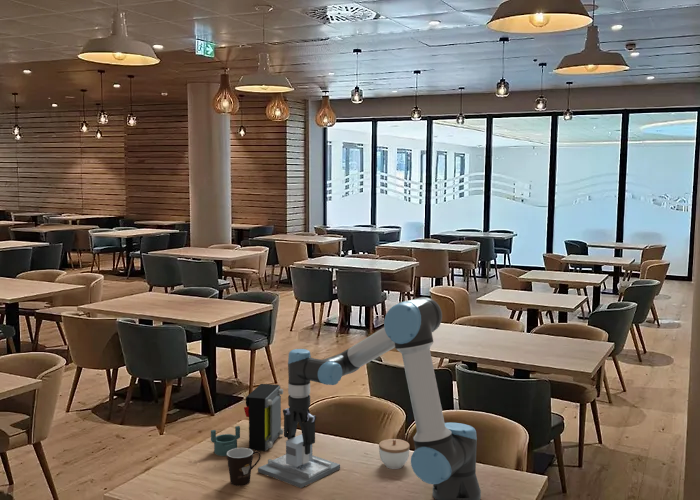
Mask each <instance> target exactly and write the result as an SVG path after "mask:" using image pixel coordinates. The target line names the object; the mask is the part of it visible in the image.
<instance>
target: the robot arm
mask: <svg viewBox="0 0 700 500" xmlns="http://www.w3.org/2000/svg"><path fill="white" fill-rule="evenodd" d="M442 320H443V312H442V309H441V307H440V305H439V304H438V302H437V301H436V300H434V299H432V298H430V297H425V296H421V297H416V298H414V299H409V300H405V301H402V302H399V303H397V304H395V305H393V306H391V307H390V308H389V309H388V310H387V312H386V313H385V317H384V319H383V324H384V325H383V327H382V328H380V329H379V330H377V331H376V332H374V333H372V334H371V335H369V336H367V337H366V338H364V339H362V340H361V341H359V342H357V343H355V344H354V345H352V346H350V347H349V348H347V349H346V350H343V351H342V352H341V353H340V352H339V353H338V354H335V355H333V356H330V357H326V358H323V359H319V358H314V357H312V355H311V351H310V350H308V349H306V348H295V349H292V350H290V351H288V360H287V374H288V383H287V384H288V385H287V387H288V388H287V389H288V390H287V392H288V393H287V394H288V398H287V400H288V402H287V405H288V407H287V408H285V409H282V414H283V437H284V438H287V440H289V439H291V438H294V437H296V436H297V435H296V433H297V429H298V426H299V427H300V431H301V434H302V437H303V442H304V444H303V445H302V464H305V463H307V462H309V454H310V445H311V444H312V445H314V444H315V443H316V420H317V415H315V414H314V415H313V414H311V413H310V406H311V395H310V394H311V382H314V383H319V384H323V385H326V386H329V385H330V386H335V385H337V384H339V381H341V379H342V377H343V376H347V375H350V374H352V373H355V372H357V371H358V370H359V369H360V368H362V367H363V366H364V365H367V364H368V363H370V362H372V361H373V360H376V359H377V358H380V356H383V355H385V354H386V353H388V352H389V351H391V350H393V349H395V350H397V352H399V353H401V357H402V361H403V367H404V371H405V378H406V383H407V388H408V392H409V396H410V402H411V407H412V412H413V417H414V421H415V428H416V433H415V435H414V436H413V443H414V450H413V453H412V455H411V457H410V466H411V469H412V471H413V472H414V474H415V476H416V477H418V479H420V480H421V481H422V482H424V483H426V484H429V485H433V486H432V497H433V498H434V499H435V500H481V498H482V497H481V496H482V492H481V491H482V490H481V488H480V485H479V480H478V477H477V474H476V470H477V443H478V442H477V440H478V438H477V431H476V429H475V427H473V426H472V425H469V424H465V423H460V422H445V419H444V414H443V408H442V404H441V398H440V394H439V388H438V383H437V379H436V374H435V368H434V363H433V358H432V353H431V346H432V345H433V343H434V336H433V333H434V332H435V331H437V329H438V328H439V327H440V325H441V323H442Z"/></svg>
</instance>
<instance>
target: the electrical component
mask: <svg viewBox="0 0 700 500" xmlns="http://www.w3.org/2000/svg"><path fill="white" fill-rule="evenodd" d="M283 394H284V389H283V388H281V385H280V384H270V383H260V384H259V385H258V386H257V387H255V388H254V389H253V390H252V391H251V392H250V393H249V394H248V395H246V397H245V405H246V407H243V409H244V412H245V416H246V418H248V449H251V450H252V451H256V450H257V452H266V451H268V449H272V448H273V445H274V442H275V441H276V440H277V439H278V438H279V437H280V436H282V435H284V428H282V419H281V418H282V417H281V416H282V410H281V409H282V407H281V406H282V405H281V403H282V399H281V398H282V396H281V395H283Z"/></svg>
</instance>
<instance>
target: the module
mask: <svg viewBox="0 0 700 500" xmlns="http://www.w3.org/2000/svg"><path fill="white" fill-rule="evenodd" d="M303 444H304V442H303V437H302V433H301V434H299V435H295V437H294V438H291V439H289V440H288V439H286V440H285V454H286V464H289V465H292V466H295V467H298V466H300V465H302V445H303ZM312 455H313V444H311V445H310V454H309V461H311V460H312Z"/></svg>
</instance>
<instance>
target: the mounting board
mask: <svg viewBox="0 0 700 500" xmlns="http://www.w3.org/2000/svg"><path fill="white" fill-rule="evenodd" d="M312 457H313V458H316V459H319V460H322V461H325V462H328V463H331V468H330V469H328V470H326V471H324V472H322V473H320V474H318V475H316V476H314V477H312V478H310V479H307V478H304V477H302V476H299V475H296V474H293V473H291V472H288V471H285V470H282V469H280V468H277V467H274V466H271V465H269V464H268V463H266V464H264V465H261V466H259V467H258V468H257V473H260V474H261V475H262V474H263V475H265V476H267V475H268V477H269V478H270V477H271V478H273V477H274V478H273V479H275V478H276V480H278V479H279V480H278V481H281V482H283V481H284V482H283V483H287V484H288V485H292V486H294V487H297V488H299V489H302V487H303V488H305V487H306V485H307V486H308V484H309V485H311V484H313V483H314V482H316V481H319V480H320V479H323V478H325V477H326V476H329V475H331V474H332V473H334V472H336V471H339V470H341V463H337V462H334V461H331V460H328V459H325V458H322V457H319V456H316V455H313V454H312ZM310 483H311V484H310ZM304 486H305V487H304Z"/></svg>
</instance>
